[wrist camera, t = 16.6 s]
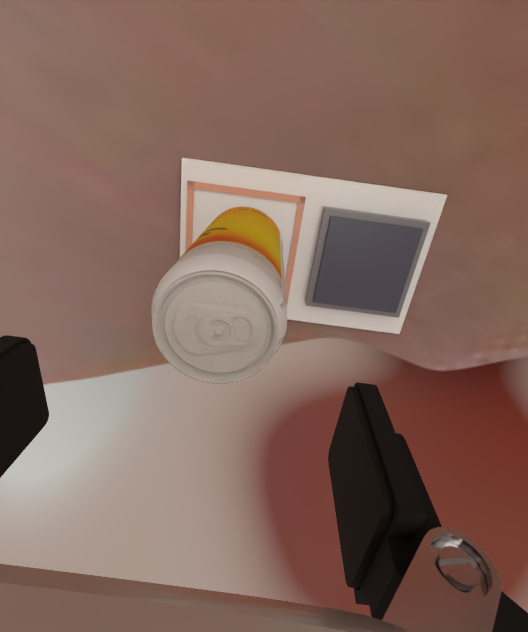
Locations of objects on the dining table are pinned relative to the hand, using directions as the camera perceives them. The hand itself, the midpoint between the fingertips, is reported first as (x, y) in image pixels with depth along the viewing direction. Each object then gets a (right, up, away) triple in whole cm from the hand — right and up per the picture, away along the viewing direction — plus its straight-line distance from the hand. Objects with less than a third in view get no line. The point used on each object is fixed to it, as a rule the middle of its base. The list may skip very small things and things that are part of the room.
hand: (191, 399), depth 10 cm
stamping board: (+5, +8, +19) cm, 21 cm away
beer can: (+1, +8, +18) cm, 20 cm away
